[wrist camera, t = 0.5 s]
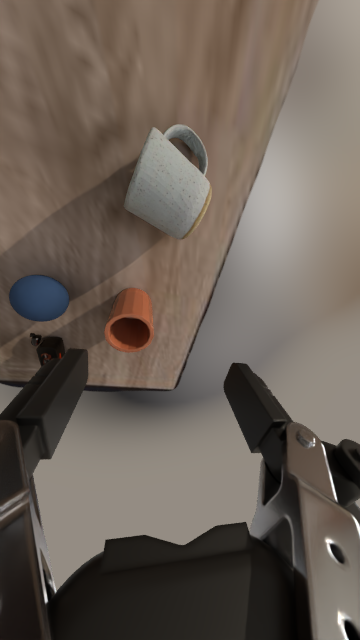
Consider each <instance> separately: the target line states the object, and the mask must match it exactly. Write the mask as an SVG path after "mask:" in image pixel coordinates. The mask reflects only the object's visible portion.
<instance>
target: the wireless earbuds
mask: <svg viewBox="0 0 360 640" xmlns="http://www.w3.org/2000/svg"><path fill="white" fill-rule="evenodd" d="M30 337H32V341H31V343H32V345H34V346H37V345H38V344H39V343H40V342H41V337H42V336H41V335H35V334H34V333H31V334H30ZM37 353H38V357H39V360H40V363H41V367H42V366H43V365H44V364H46V363H47V362H49V361H51V360H52V359H54V358H62V357H63V356H64V354H65V349H64V344H63V340H62V338H59V337H47V338H45V339H44V341H43V342H42V343H41V344H40V346H39V347H38V348H37Z"/></svg>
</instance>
